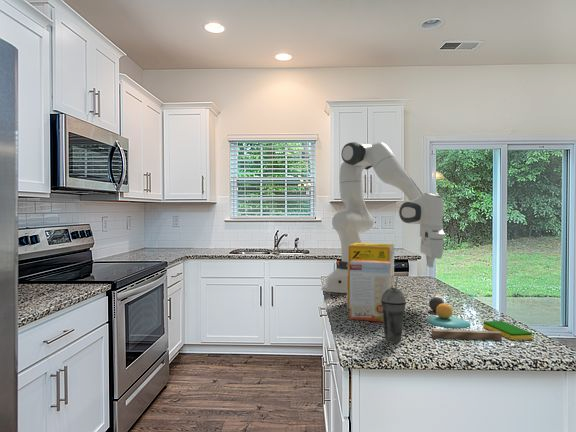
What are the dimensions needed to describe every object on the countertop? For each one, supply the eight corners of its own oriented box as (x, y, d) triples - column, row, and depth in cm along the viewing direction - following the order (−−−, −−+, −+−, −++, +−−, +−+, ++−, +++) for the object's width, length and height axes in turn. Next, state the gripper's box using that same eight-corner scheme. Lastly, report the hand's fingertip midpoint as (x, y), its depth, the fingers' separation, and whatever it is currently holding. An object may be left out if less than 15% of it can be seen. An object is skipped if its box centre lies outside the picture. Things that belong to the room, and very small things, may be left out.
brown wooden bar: (433, 337, 122) (433, 331, 122) (431, 335, 124) (431, 329, 124) (501, 339, 120) (501, 333, 120) (498, 337, 122) (498, 331, 122)
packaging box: (355, 299, 173) (355, 242, 173) (393, 303, 167) (394, 244, 167) (347, 308, 158) (347, 245, 158) (388, 312, 152) (389, 247, 152)
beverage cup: (377, 336, 122) (378, 271, 122) (400, 336, 123) (401, 271, 122) (385, 344, 115) (385, 275, 115) (409, 344, 115) (410, 275, 115)
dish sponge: (511, 341, 120) (512, 333, 120) (482, 328, 134) (482, 321, 134) (532, 340, 121) (532, 332, 121) (501, 327, 135) (501, 320, 135)
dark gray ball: (427, 295, 157) (427, 308, 157) (431, 299, 151) (431, 313, 152) (441, 295, 156) (441, 309, 157) (446, 299, 151) (445, 313, 151)
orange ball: (433, 313, 147) (437, 321, 142) (435, 300, 146) (439, 308, 140) (449, 313, 147) (453, 322, 142) (450, 300, 145) (455, 308, 140)
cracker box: (390, 319, 143) (391, 260, 142) (389, 323, 137) (390, 262, 137) (351, 315, 147) (352, 259, 147) (348, 319, 141) (349, 260, 141)
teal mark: (433, 327, 132) (433, 326, 132) (422, 316, 146) (422, 315, 146) (477, 328, 131) (477, 328, 131) (462, 317, 145) (462, 317, 145)
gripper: (417, 231, 172) (416, 262, 173) (429, 234, 152) (428, 270, 152) (432, 231, 172) (431, 263, 172) (446, 235, 151) (445, 271, 152)
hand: (429, 266), depth 162 cm, fingers closed
